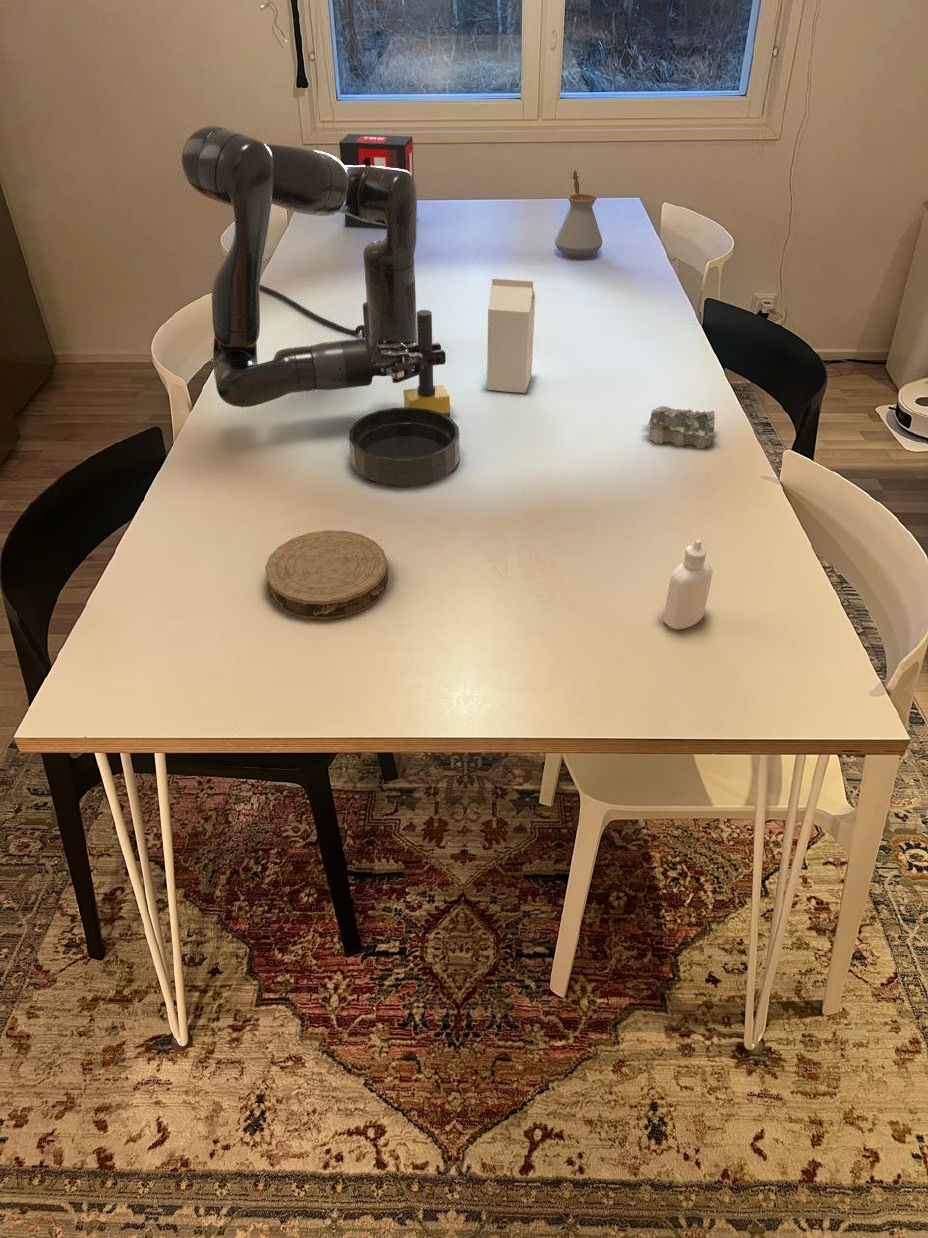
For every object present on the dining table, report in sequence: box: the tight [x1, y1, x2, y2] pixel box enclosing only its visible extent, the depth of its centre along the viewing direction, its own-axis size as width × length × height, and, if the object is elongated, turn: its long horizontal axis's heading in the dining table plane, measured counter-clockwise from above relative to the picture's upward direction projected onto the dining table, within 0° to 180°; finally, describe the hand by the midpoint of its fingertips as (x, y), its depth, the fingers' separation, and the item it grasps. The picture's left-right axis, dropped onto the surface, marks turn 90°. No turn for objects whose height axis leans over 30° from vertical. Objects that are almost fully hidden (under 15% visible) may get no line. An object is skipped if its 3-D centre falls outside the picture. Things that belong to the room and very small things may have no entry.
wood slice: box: [264, 530, 389, 621], centre depth 125 cm, size 16×16×3 cm
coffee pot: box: [554, 170, 603, 260], centre depth 227 cm, size 21×12×15 cm, turn 1°
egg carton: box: [647, 406, 716, 449], centre depth 155 cm, size 11×8×4 cm
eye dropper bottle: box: [662, 538, 713, 631], centre depth 116 cm, size 4×6×12 cm
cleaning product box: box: [338, 133, 415, 230], centre depth 240 cm, size 16×9×20 cm, turn 81°
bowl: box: [348, 407, 460, 487], centre depth 149 cm, size 17×17×5 cm
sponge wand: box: [403, 309, 451, 418], centre depth 157 cm, size 7×4×18 cm, turn 106°
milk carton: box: [486, 277, 536, 394], centre depth 166 cm, size 7×7×19 cm
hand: (442, 352), depth 157 cm, fingers closed on sponge wand, 2 cm apart
